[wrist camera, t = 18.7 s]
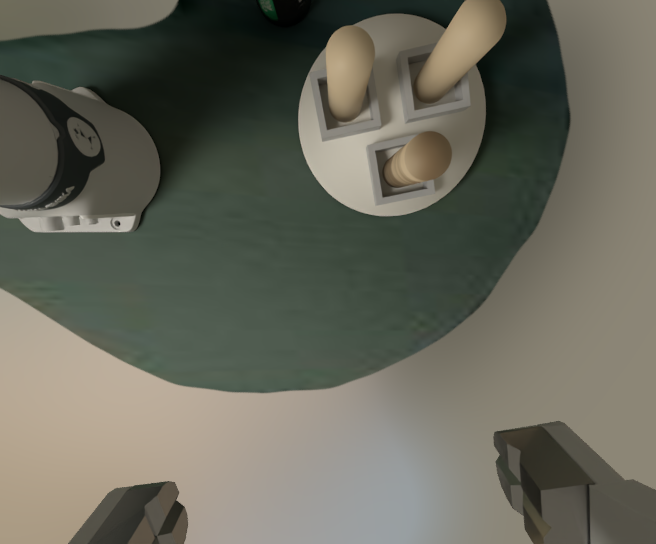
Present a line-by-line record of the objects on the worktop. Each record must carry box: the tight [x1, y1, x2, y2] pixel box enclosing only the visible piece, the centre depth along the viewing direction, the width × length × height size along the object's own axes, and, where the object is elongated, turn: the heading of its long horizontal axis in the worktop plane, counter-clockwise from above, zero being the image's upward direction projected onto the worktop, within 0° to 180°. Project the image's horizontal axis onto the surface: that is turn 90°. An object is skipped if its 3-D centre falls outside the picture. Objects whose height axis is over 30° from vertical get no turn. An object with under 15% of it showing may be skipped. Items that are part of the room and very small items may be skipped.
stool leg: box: [382, 131, 452, 188], centre depth 33 cm, size 4×4×13 cm
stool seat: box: [298, 0, 506, 216], centre depth 33 cm, size 23×23×16 cm
